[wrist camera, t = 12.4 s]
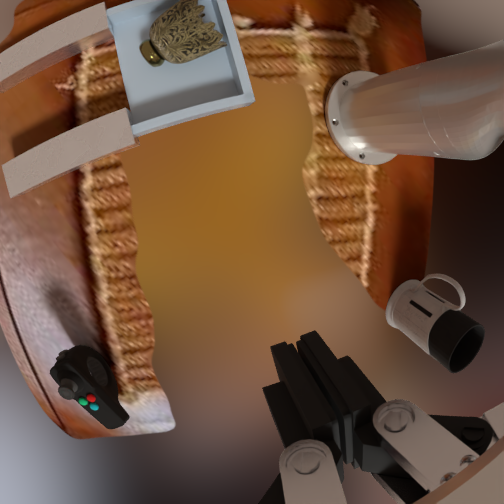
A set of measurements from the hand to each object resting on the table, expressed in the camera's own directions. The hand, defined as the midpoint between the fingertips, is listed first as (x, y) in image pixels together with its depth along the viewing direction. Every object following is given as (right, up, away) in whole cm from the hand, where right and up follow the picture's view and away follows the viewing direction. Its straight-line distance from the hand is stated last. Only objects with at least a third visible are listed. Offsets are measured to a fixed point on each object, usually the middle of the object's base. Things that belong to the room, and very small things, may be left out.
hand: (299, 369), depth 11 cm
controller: (-23, -12, +28) cm, 38 cm away
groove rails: (-24, +22, +17) cm, 36 cm away
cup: (-13, +25, +16) cm, 32 cm away
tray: (-10, +26, +19) cm, 34 cm away
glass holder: (+23, -2, +35) cm, 42 cm away
